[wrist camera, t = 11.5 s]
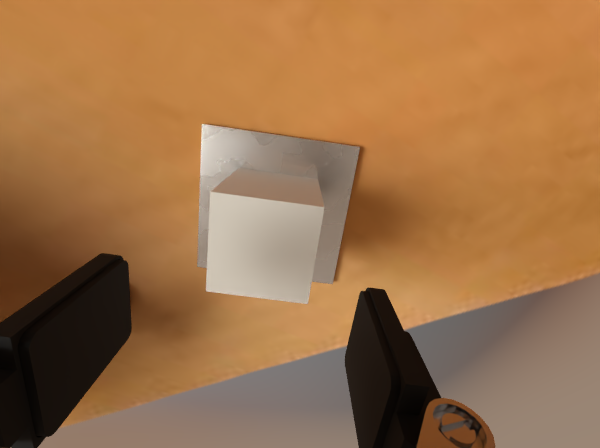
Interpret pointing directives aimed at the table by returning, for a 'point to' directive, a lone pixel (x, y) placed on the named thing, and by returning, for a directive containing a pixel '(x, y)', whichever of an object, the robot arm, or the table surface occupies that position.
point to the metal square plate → (284, 160)
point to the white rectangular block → (264, 235)
